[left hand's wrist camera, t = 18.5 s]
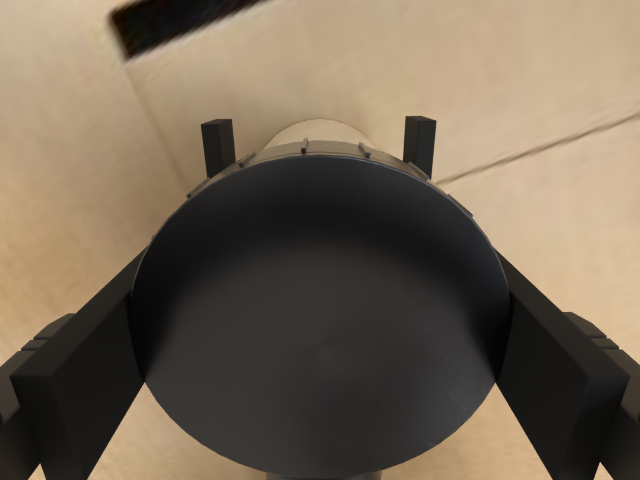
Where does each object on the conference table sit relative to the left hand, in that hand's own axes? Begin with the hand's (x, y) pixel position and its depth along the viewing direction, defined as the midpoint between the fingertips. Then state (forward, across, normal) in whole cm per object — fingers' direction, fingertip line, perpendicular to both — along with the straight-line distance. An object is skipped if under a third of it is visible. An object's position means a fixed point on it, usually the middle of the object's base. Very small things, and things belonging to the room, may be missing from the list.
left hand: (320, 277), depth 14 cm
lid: (-3, 0, 0) cm, 3 cm away
